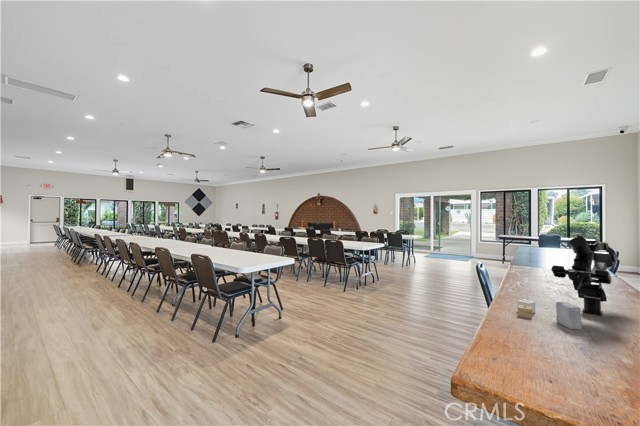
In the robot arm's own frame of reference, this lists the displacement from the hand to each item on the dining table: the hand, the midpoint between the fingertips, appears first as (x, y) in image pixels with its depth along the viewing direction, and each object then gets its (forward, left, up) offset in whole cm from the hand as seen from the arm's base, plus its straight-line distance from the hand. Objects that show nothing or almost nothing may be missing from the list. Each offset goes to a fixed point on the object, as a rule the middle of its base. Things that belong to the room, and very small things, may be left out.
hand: (575, 289), depth 119 cm
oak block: (+7, -17, -14) cm, 23 cm away
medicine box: (+9, -2, -14) cm, 17 cm away
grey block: (0, -18, -14) cm, 22 cm away
